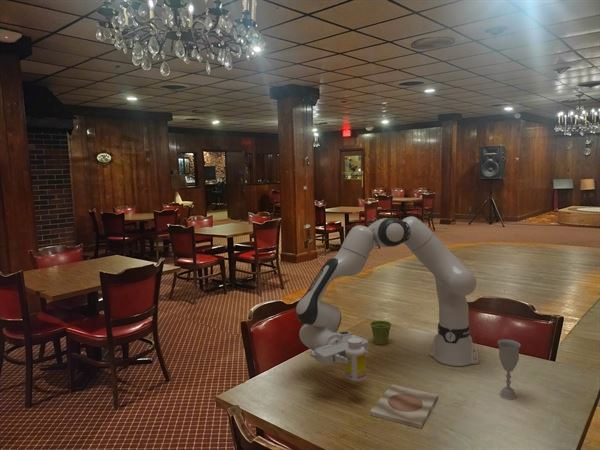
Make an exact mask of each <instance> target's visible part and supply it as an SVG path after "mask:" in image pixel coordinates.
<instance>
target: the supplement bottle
mask: <svg viewBox="0 0 600 450" xmlns="http://www.w3.org/2000/svg"><path fill="white" fill-rule="evenodd" d="M348 345H349V346H348V347H347V348H346V349H345V356H347V357H349V359H350V360H349V361H350V362H349V363H347V364H345V376H346V378H347V379H348V380H350V381H353V382H359V381H364V380H365V379H366V377H367V364H366V363H367V361H366V359H367V358H366V357H367V356H365V348H364V347H363V346H361V345H362V340H361V339H360V338H350V339H348Z"/></svg>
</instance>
